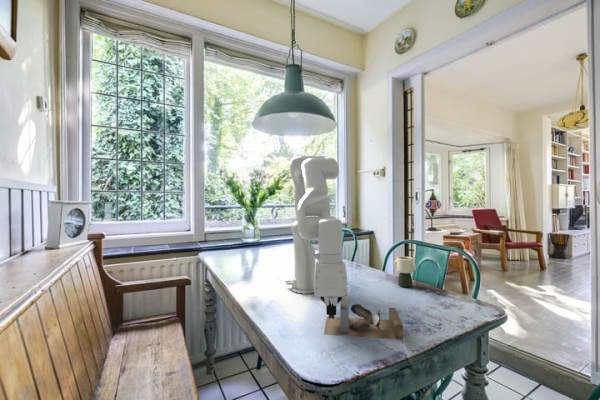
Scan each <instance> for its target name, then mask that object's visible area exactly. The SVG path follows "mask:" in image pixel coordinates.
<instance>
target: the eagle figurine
mask: <svg viewBox="0 0 600 400" xmlns="http://www.w3.org/2000/svg"><path fill="white" fill-rule="evenodd" d="M350 306H351V305H350ZM349 308H350V309H349V310H350V311H351V312H352V313H353V314H355V315H356V316H358V317H359V318H362V319H365V320H363V321H359V322H356V323H355V324H352V325H351V326H349V328H350V329H353V330H358V329H361V328H368V327H369V326H370V325H371V324H373V325H376V326H377V328H378V329H379V324H381V323H380V320H382V317H381V309H378V312H377V313H375V314H374V315H373V313H372V311H371V310H370V309H367V308H365V307H364V306H362V305H361V304H359V303H354V304H352V306H351V307H349Z"/></svg>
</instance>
